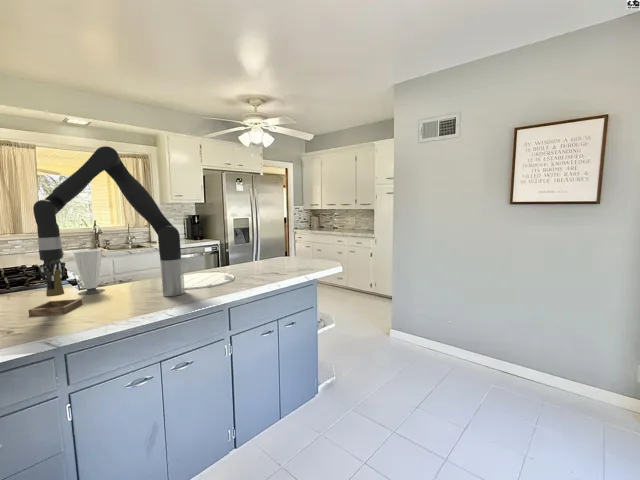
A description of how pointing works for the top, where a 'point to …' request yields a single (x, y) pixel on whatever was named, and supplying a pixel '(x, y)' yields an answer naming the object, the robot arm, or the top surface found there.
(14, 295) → the top surface
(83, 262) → the cup
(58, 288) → the olive brown tapered block
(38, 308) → the box
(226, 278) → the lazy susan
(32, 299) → the top surface
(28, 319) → the top surface
